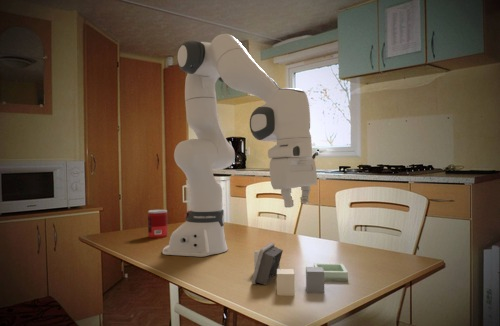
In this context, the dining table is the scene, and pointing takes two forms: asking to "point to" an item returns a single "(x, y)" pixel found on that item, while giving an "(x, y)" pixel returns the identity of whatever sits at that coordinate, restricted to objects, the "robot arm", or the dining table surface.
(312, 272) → the grey part
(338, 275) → the tray
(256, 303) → the dining table surface
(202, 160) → the robot arm
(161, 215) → the canned food
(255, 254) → the label plate
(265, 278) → the electrical switch
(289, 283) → the beige part
